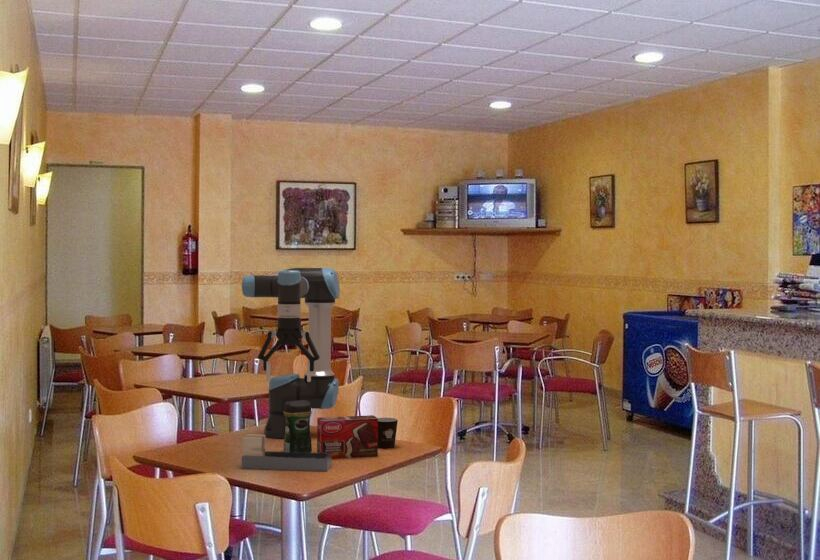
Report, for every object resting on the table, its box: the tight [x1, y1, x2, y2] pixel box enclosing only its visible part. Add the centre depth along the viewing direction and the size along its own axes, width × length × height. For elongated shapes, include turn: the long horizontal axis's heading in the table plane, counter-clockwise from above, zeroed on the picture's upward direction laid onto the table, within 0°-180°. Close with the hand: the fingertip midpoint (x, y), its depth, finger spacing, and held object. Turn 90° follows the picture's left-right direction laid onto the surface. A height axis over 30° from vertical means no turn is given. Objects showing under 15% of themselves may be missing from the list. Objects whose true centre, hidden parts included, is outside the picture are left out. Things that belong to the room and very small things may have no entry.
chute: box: [241, 450, 333, 472], centre depth 299 cm, size 9×28×4 cm, turn 85°
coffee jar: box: [283, 400, 313, 453], centre depth 320 cm, size 10×8×19 cm
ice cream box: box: [316, 414, 379, 460], centre depth 317 cm, size 20×6×13 cm, turn 107°
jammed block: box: [242, 433, 266, 456], centre depth 300 cm, size 6×6×8 cm
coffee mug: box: [377, 417, 399, 450], centre depth 333 cm, size 12×9×10 cm
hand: (288, 381), depth 302 cm, fingers open, 13 cm apart
